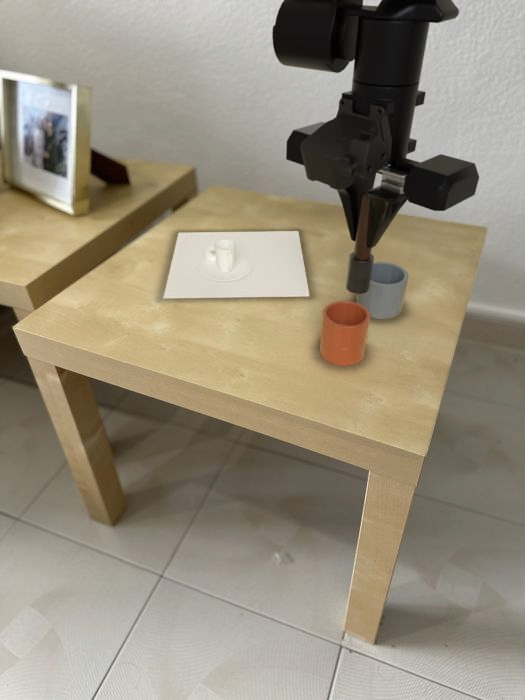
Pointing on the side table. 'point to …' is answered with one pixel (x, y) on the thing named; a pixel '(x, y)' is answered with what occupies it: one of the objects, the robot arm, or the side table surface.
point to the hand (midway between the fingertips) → (363, 243)
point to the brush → (361, 251)
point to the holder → (344, 332)
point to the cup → (385, 291)
